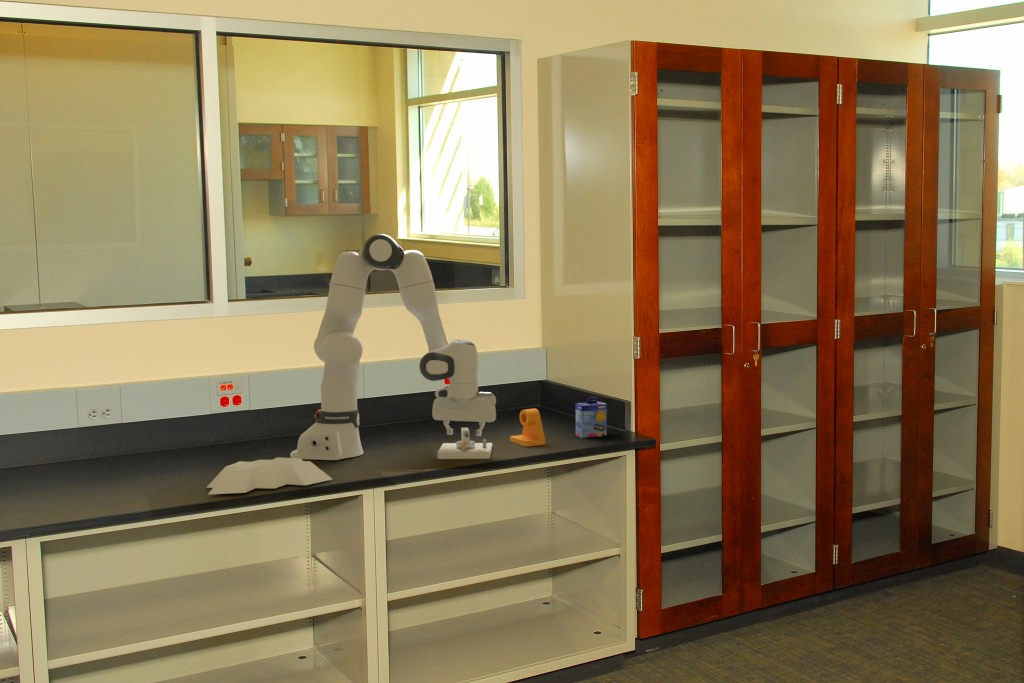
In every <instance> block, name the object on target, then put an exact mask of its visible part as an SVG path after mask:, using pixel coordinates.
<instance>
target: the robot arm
mask: <svg viewBox="0 0 1024 683" xmlns="http://www.w3.org/2000/svg"><path fill="white" fill-rule="evenodd" d="M386 270H389V271H391V272H392V273H393V274H394V277H395V278H396V282H397V286H398V291H399V294H400V297H401V300H402V303H403V305H404V308H405V309H406V310H407V311H408V312H409V313H410V314H411V315H413V316H414V317H415V318H416V319H417V320H418V321H419V323H420V325H421V328H422V331H423V333H424V334H423V335H424V338H425V341H426V344H427V347H428V352H427V353H426V354H424V355H423V356H422V358H421V359H420V362H419V371H420V373H421V375H422V377H424V378H425V379H426V380H428V381H431V382H439V381H442V380H447V379H448V380H449V386H448V385H447V386H445V387H443V388H440V389H437V390H436V391H435V392H434V395H435V397H436V398H435V399H434V400H433V403H432V413H431V415H432V418H433V419H434V420H435V421H443V423H442V424H443V425H444V427H445V429H446V435H447V436H448V435H449V436H450V435H451V436H452V435H453V434H454V428H451V426H450V425H449V424H450V423H451V422H450V421H452V422H453V421H454V422H476V423H477V422H478V425H479V428H478V429H476V430H475V436H476V437H481V436H482V431H483V428H484V427H485V425H486V423H493V422H494V421H496V419H497V411H496V405H497V397H496V395H495V394H493V393H492V392H490V391H489V392H488V391H486V392H485V391H479V379H478V369H479V360H478V358H479V357H478V351H477V347H476V344H474V343H473V342H471V341H469V340H466V339H465V340H464V339H453V340H452V341H451V342H449V343H448V341H447V337H446V335H445V331H444V328H443V323H442V320H441V317H440V313H439V312H440V311H439V307H438V306H439V305H438V299H437V293H436V292H437V291H436V287H435V283H434V279H433V275H432V271H431V270H430V266H429V263H428V262H427V260H426V258H425V255H424V254H423V253H422V252H421V251H419V250H415V249H409V250H404V249H403V248H402V247H401V246H400V245H399V244H398V242H397V241H396V240H395V239H394V238H392V236H390V235H387V234H384V233H376V234H373V235H371V236H370V237H369V238H367V240H366V241H365V243H364V244H363V247H362V249H360V250H359V251H355V250H354V251H353V250H351V251H350V250H349V251H344V252H342V253H340V254H339V255H338V257H337V259H336V262H335V265H334V267H333V270H332V274H331V278H330V284H329V289H328V295H327V299H326V300H327V301H326V306H325V310H324V314H323V317H322V320H321V322H320V326H319V330H318V332H317V336H316V337H315V339H314V343H313V348H314V352H315V354H316V356H317V358H318V359H319V360H320V361H322V362H323V363H324V367H323V368H324V369H323V376H322V379H321V380H322V381H321V384H320V398H321V399H320V401H321V403H320V406H321V407H320V408H321V409H318V410H317V411H316V412H315V414H314V420H315V423H313V424H312V425H311V426H310V427H308V429H307V430H305V431H304V432H303V433H302V434H300V436H299V438H298V440H297V446H296V447H297V448H296V449H295V450H293V451H291V452H290V455H289V458H301V459H302V460H316V461H317V460H322V461H339V460H342V459H349V458H354V457H355V458H356V457H359V456H362V455H364V449H363V447H362V442H361V437H360V430H359V427H360V413H359V409H358V394H357V393H358V392H357V387H358V376H359V371H360V370H359V369H360V362H361V358H362V356H363V345H362V343H361V341H360V340H359V339H358V338H357V337H356V336H355V335H354V333H355V330H356V326H357V325H358V321H359V319H360V318H361V317H362V312H363V307H364V303H365V295H366V289H367V283H368V278H369V276H370V274H371V273H374V272H382V271H386ZM434 420H433V421H434Z"/></svg>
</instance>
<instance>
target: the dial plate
mask: <svg viewBox="0 0 1024 683" xmlns="http://www.w3.org/2000/svg"><path fill="white" fill-rule="evenodd" d="M492 449H493V442H487V439H485V438H484V439H482V442H475V447H474V448H466V443H462V448H457V447H456V442H452V443H450V442H446V443H445V442H443V443H442V445H440V448H439V450H437V460H475V459H477V460H485V459H487V460H489V459H490V458H491V453H492Z"/></svg>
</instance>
